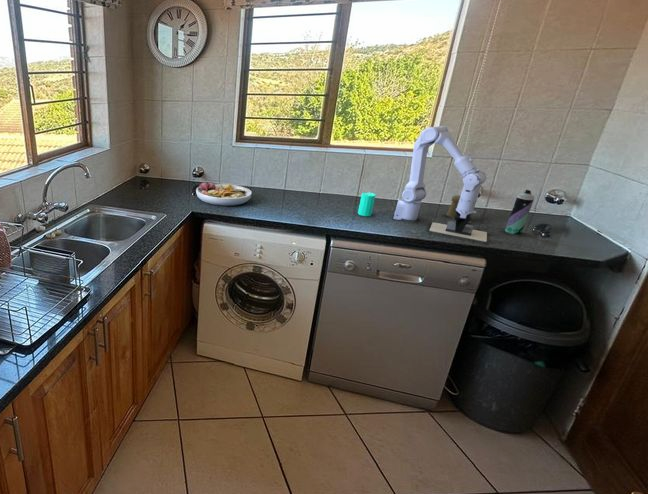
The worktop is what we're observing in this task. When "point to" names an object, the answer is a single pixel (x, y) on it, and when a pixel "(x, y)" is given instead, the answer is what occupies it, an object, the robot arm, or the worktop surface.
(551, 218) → the worktop surface
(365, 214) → the candle
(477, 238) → the memo board
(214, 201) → the bowl
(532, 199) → the spray can
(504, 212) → the worktop surface
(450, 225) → the eraser
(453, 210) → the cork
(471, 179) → the robot arm
